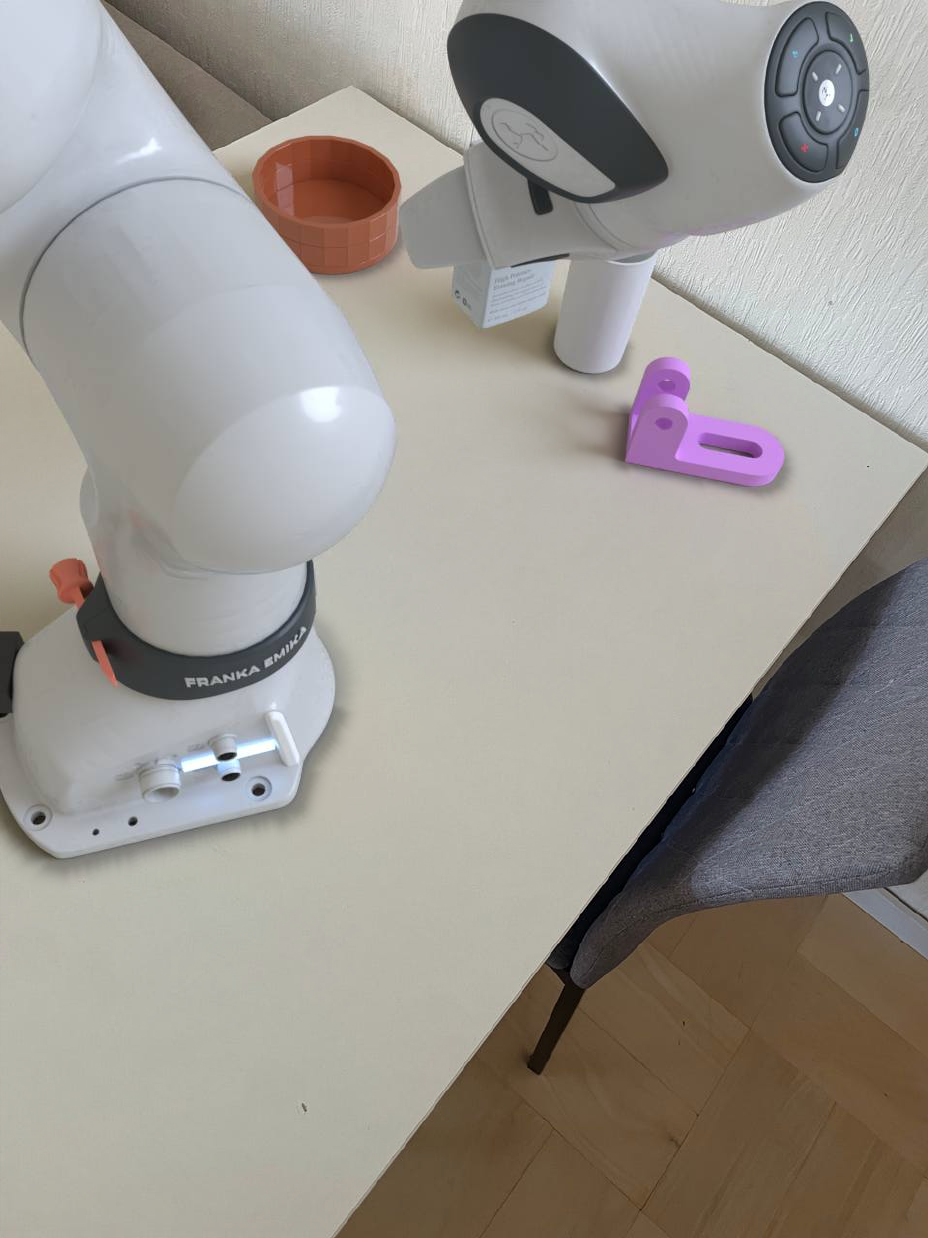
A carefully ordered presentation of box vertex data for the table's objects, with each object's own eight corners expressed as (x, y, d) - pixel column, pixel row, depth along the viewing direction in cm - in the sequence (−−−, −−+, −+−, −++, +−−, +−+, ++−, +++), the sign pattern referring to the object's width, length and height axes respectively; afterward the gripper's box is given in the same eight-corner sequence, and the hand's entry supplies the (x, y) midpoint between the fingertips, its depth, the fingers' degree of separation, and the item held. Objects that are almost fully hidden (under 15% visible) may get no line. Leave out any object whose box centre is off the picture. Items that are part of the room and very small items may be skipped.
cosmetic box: (481, 333, 72) (505, 181, 62) (446, 294, 74) (464, 140, 64) (550, 306, 75) (584, 155, 65) (515, 269, 76) (542, 116, 66)
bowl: (289, 288, 91) (287, 241, 87) (234, 199, 97) (230, 151, 92) (421, 254, 95) (425, 208, 91) (361, 170, 101) (363, 123, 97)
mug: (616, 385, 89) (652, 274, 79) (542, 364, 89) (569, 250, 79) (637, 312, 94) (674, 198, 84) (568, 292, 95) (596, 177, 85)
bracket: (624, 461, 85) (646, 402, 79) (629, 413, 88) (651, 352, 82) (778, 492, 85) (811, 435, 79) (777, 442, 88) (810, 384, 82)
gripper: (753, 80, 59) (622, 138, 72) (445, 150, 53) (358, 201, 65) (772, 193, 61) (640, 231, 74) (476, 275, 54) (386, 302, 67)
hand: (506, 218), depth 69 cm, fingers closed on cosmetic box, 6 cm apart
